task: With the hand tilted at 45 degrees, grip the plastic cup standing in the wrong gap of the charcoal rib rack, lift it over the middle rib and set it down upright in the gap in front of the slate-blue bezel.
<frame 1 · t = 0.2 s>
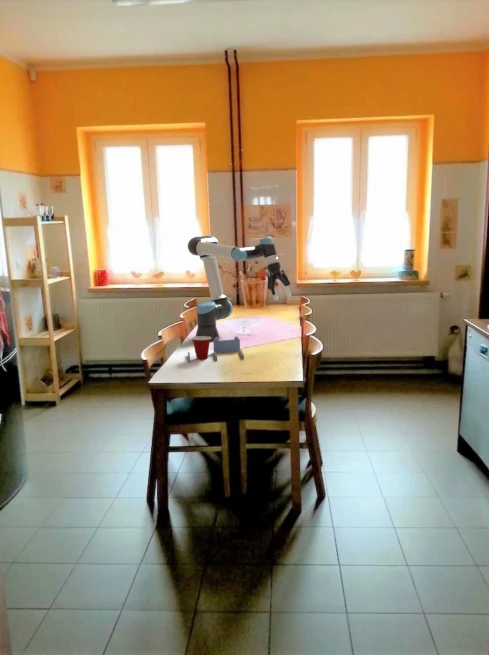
hand: (283, 298, 294), 28 cm above the table, tool tilted 20°, fingers open, 13 cm apart
plastic cup: (202, 358, 275), on the table
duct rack: (215, 357, 276), on the table
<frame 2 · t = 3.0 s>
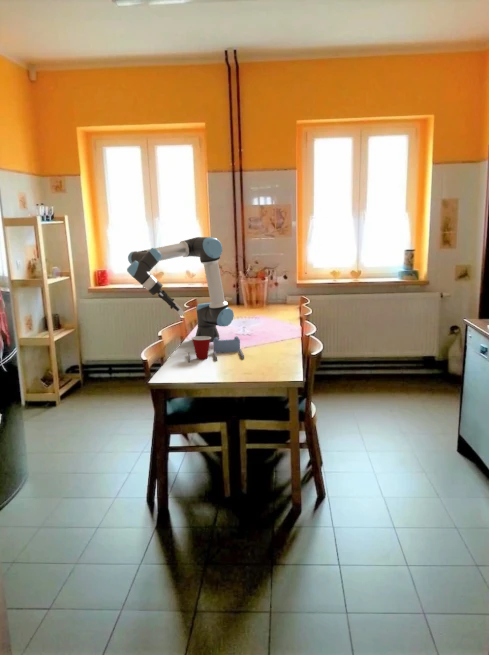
hand: (181, 312, 272), 26 cm above the table, tool tilted 45°, fingers open, 13 cm apart
nothing on the table moved.
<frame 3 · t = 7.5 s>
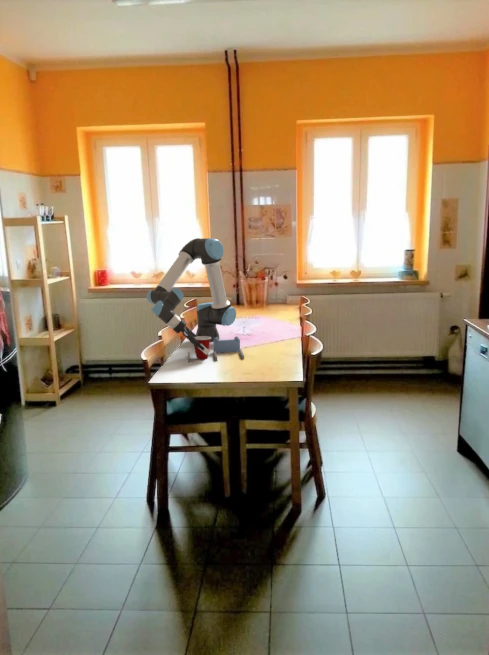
hand: (207, 350, 275), 4 cm above the table, tool tilted 45°, fingers closed on plastic cup, 9 cm apart
plastic cup: (202, 358, 275), on the table, touching gripper
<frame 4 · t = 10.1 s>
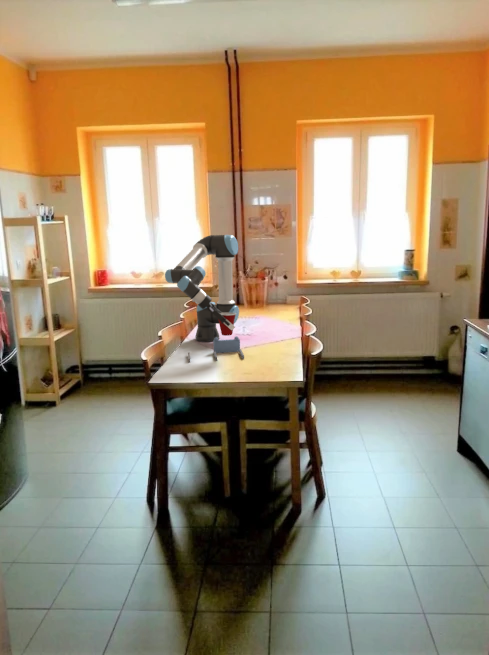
hand: (232, 326, 274), 17 cm above the table, tool tilted 45°, fingers closed on plastic cup, 9 cm apart
plastic cup: (227, 334, 274), point 12 cm above the table, touching gripper
when the fingers open (6 cm above the table, at t = 12.8 s): plastic cup moves 3 cm, on the table.
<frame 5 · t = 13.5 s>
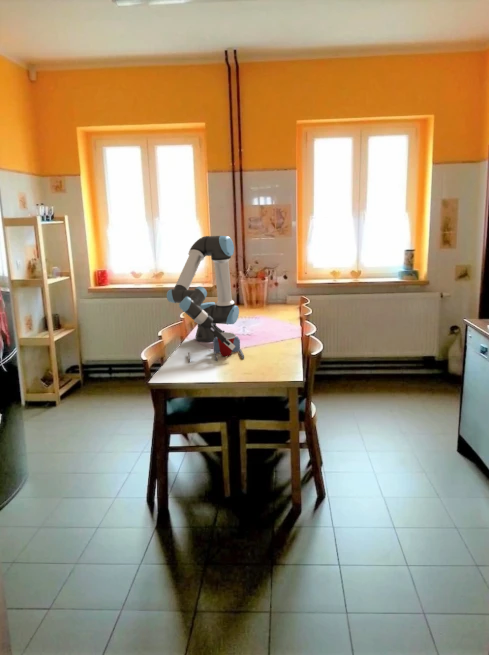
hand: (232, 345, 276), 6 cm above the table, tool tilted 45°, fingers open, 13 cm apart
plastic cup: (226, 354, 280), on the table, touching gripper
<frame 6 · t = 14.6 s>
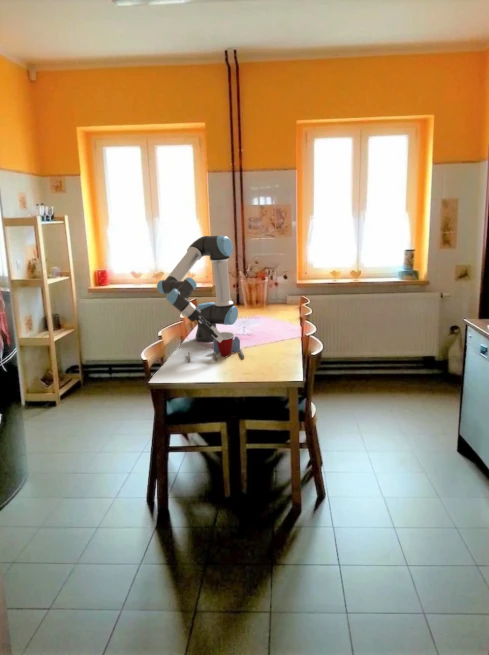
hand: (220, 337, 274), 11 cm above the table, tool tilted 45°, fingers open, 13 cm apart
plastic cup: (225, 354, 280), on the table
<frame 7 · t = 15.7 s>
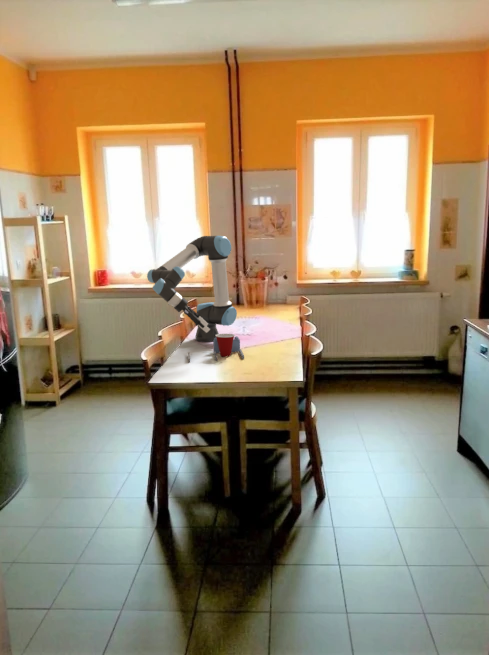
hand: (207, 328, 273), 17 cm above the table, tool tilted 45°, fingers open, 13 cm apart
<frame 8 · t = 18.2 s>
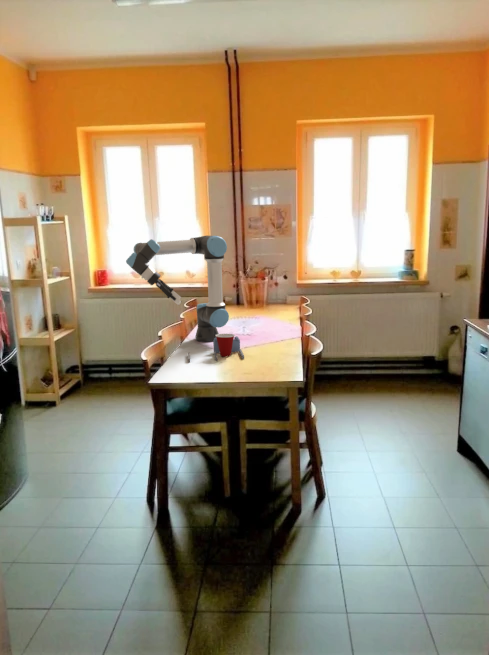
hand: (180, 301, 281), 30 cm above the table, tool tilted 45°, fingers open, 13 cm apart
at the end: plastic cup inside the target area (3.3 cm from its centre), on the table; plastic cup tilted 0°; the gripper is holding nothing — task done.
